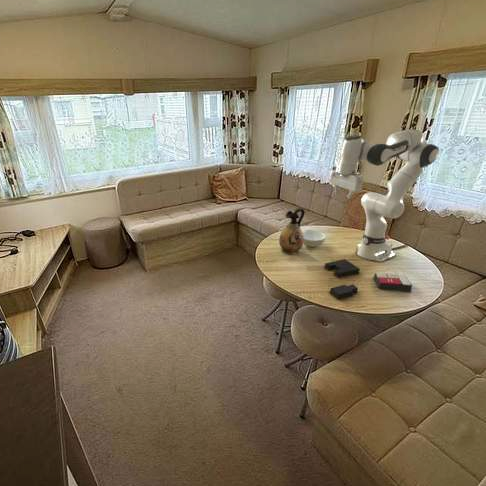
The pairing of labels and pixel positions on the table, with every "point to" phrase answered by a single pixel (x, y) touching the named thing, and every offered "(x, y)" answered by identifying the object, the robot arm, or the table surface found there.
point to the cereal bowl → (313, 238)
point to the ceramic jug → (292, 233)
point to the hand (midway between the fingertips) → (342, 195)
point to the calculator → (392, 281)
